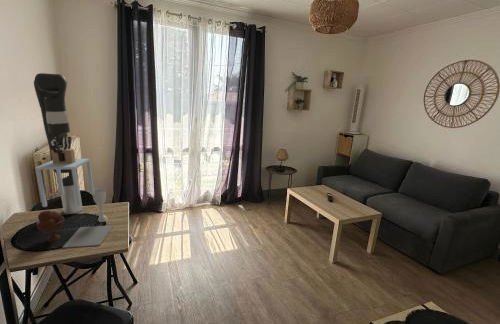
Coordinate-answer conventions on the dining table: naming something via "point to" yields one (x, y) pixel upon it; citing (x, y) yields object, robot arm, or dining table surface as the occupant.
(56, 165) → the cover
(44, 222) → the ice cream bowl
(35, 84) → the robot arm
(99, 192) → the chalice
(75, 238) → the mat
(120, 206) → the dining table surface
